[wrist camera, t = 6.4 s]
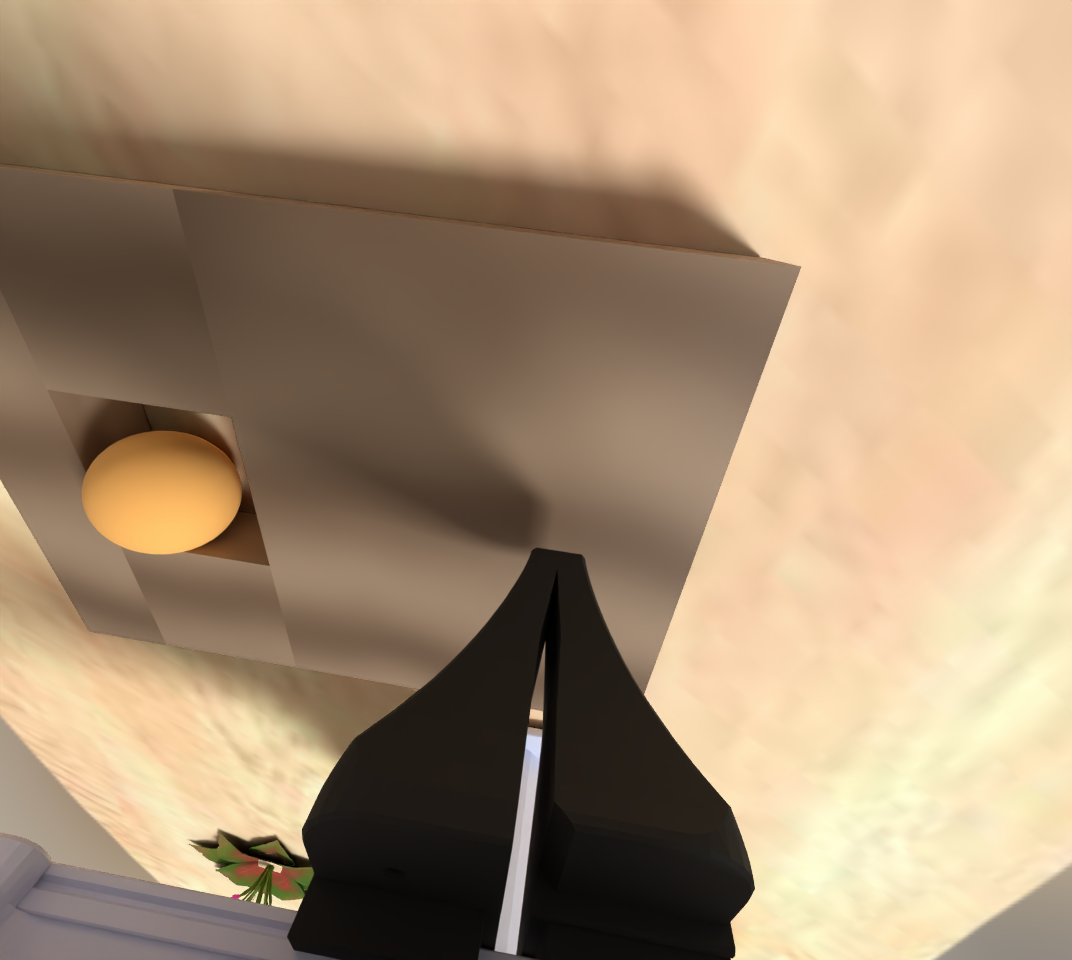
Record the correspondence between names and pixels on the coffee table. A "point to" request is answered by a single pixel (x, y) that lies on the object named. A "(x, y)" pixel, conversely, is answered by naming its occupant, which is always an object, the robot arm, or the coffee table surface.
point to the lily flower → (259, 871)
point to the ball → (161, 492)
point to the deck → (371, 412)
